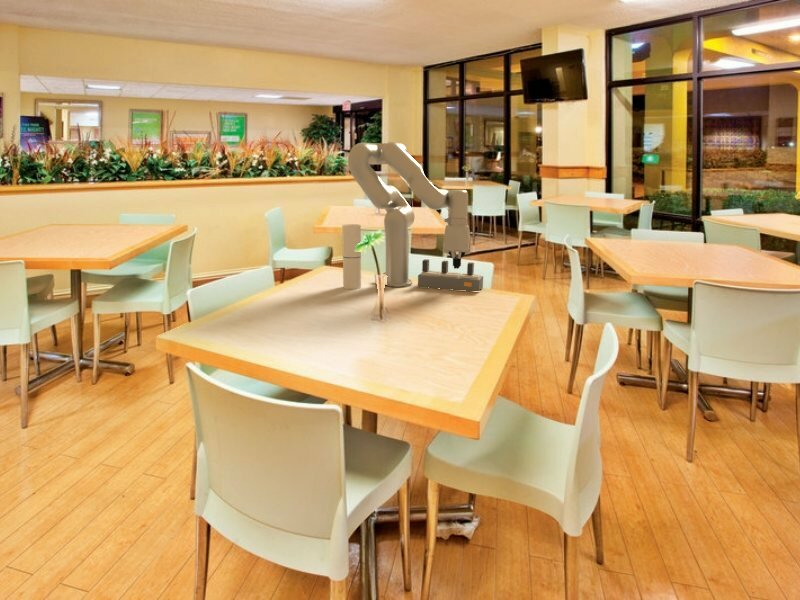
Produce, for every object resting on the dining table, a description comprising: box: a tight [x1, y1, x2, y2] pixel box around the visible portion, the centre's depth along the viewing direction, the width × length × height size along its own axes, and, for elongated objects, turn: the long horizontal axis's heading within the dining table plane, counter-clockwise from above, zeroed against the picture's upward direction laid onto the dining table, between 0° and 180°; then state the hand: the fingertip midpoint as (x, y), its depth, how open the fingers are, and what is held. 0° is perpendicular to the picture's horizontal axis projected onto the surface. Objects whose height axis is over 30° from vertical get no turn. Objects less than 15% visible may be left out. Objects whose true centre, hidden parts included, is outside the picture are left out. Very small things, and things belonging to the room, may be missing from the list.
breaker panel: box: [417, 270, 484, 292], centre depth 220 cm, size 25×8×6 cm, turn 72°
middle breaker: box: [440, 260, 449, 273], centre depth 219 cm, size 2×3×4 cm, turn 161°
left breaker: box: [421, 259, 430, 272], centre depth 222 cm, size 2×3×4 cm, turn 162°
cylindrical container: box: [341, 223, 362, 290], centre depth 217 cm, size 7×7×25 cm
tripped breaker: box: [466, 261, 475, 275], centre depth 216 cm, size 2×3×4 cm, turn 162°
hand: (456, 267), depth 218 cm, fingers closed
